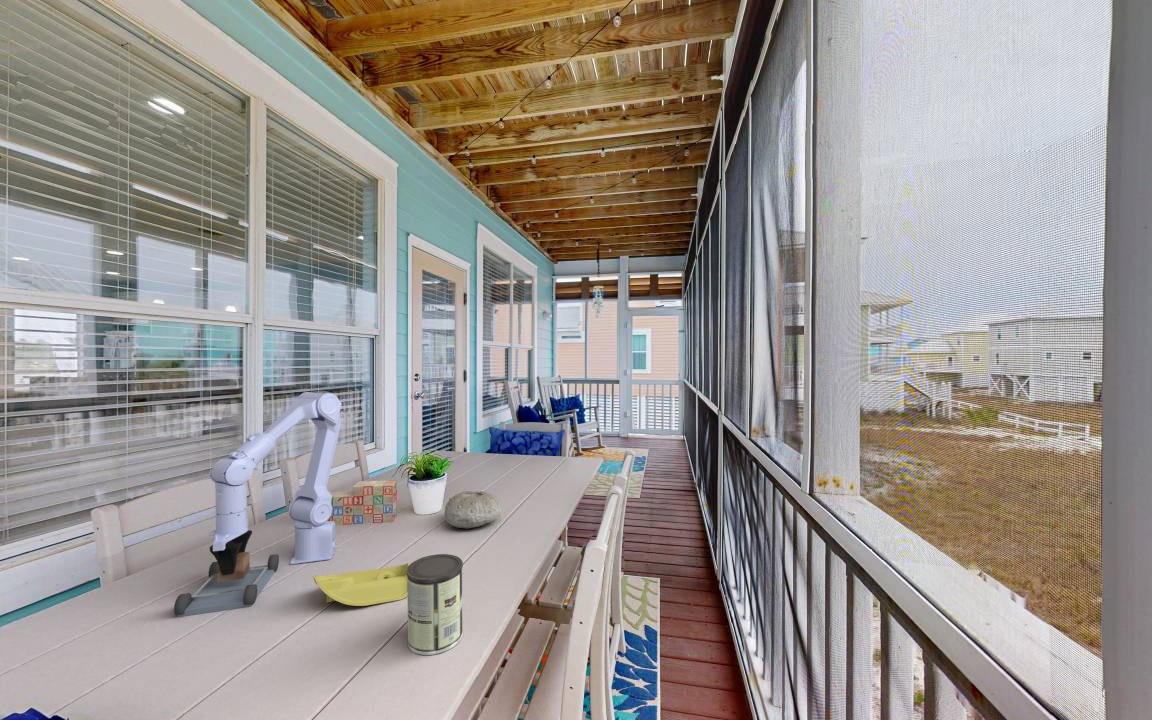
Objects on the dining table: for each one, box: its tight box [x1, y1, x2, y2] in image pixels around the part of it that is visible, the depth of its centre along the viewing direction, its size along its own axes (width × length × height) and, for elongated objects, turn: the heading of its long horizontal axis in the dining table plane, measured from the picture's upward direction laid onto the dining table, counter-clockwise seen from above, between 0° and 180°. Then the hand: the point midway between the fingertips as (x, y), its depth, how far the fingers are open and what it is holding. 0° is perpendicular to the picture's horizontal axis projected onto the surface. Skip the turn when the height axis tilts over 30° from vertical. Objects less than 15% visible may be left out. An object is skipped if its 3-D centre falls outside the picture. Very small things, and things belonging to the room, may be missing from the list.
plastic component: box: [312, 562, 412, 607], centre depth 102 cm, size 20×7×10 cm
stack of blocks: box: [327, 479, 398, 526], centre depth 147 cm, size 21×6×12 cm, turn 100°
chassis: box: [173, 553, 280, 618], centre depth 104 cm, size 13×20×4 cm
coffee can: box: [407, 553, 464, 656], centre depth 86 cm, size 10×10×14 cm
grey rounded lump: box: [443, 490, 502, 529], centre depth 145 cm, size 18×18×10 cm
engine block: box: [216, 551, 251, 582], centre depth 104 cm, size 5×4×4 cm
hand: (232, 569), depth 104 cm, fingers closed on engine block, 4 cm apart
